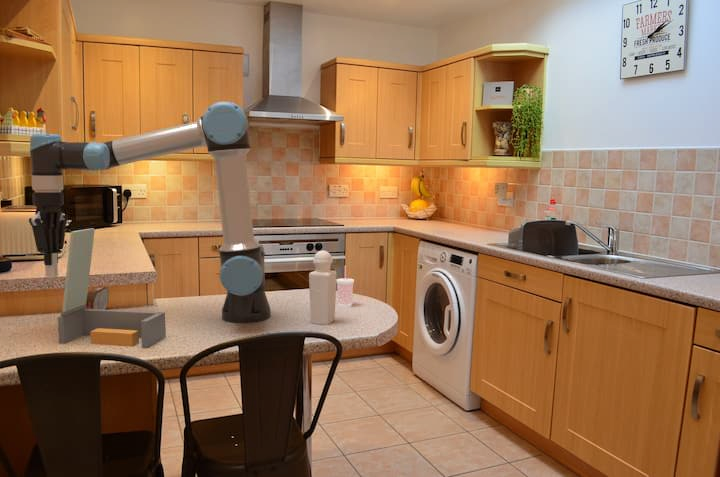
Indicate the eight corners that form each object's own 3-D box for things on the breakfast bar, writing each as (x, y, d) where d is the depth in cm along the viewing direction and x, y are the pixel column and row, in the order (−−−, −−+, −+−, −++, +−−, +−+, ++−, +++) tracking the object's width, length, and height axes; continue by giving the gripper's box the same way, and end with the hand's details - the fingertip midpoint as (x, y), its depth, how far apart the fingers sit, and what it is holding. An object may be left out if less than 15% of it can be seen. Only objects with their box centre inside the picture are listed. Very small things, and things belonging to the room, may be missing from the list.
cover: (95, 228, 161) (91, 227, 161) (74, 232, 152) (69, 231, 152) (86, 309, 165) (81, 308, 165) (65, 317, 156) (60, 316, 156)
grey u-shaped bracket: (165, 336, 163) (165, 312, 162) (147, 347, 153) (146, 321, 152) (82, 332, 166) (80, 308, 166) (59, 343, 157) (57, 317, 156)
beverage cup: (338, 303, 204) (338, 263, 203) (355, 304, 203) (355, 264, 201) (334, 307, 198) (334, 266, 197) (352, 308, 197) (352, 267, 195)
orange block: (139, 343, 157) (138, 330, 157) (132, 347, 154) (131, 333, 154) (98, 341, 159) (97, 328, 159) (91, 344, 156) (90, 331, 156)
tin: (101, 308, 196) (100, 283, 195) (111, 308, 196) (110, 283, 195) (84, 319, 181) (82, 292, 180) (94, 319, 181) (93, 292, 180)
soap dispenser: (308, 323, 178) (308, 251, 175) (317, 318, 184) (317, 248, 181) (328, 325, 175) (328, 252, 173) (336, 320, 181) (337, 249, 179)
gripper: (51, 190, 168) (55, 271, 170) (18, 191, 155) (22, 280, 158) (75, 190, 166) (79, 273, 169) (43, 192, 154) (47, 281, 156)
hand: (51, 276), depth 163 cm, fingers closed
